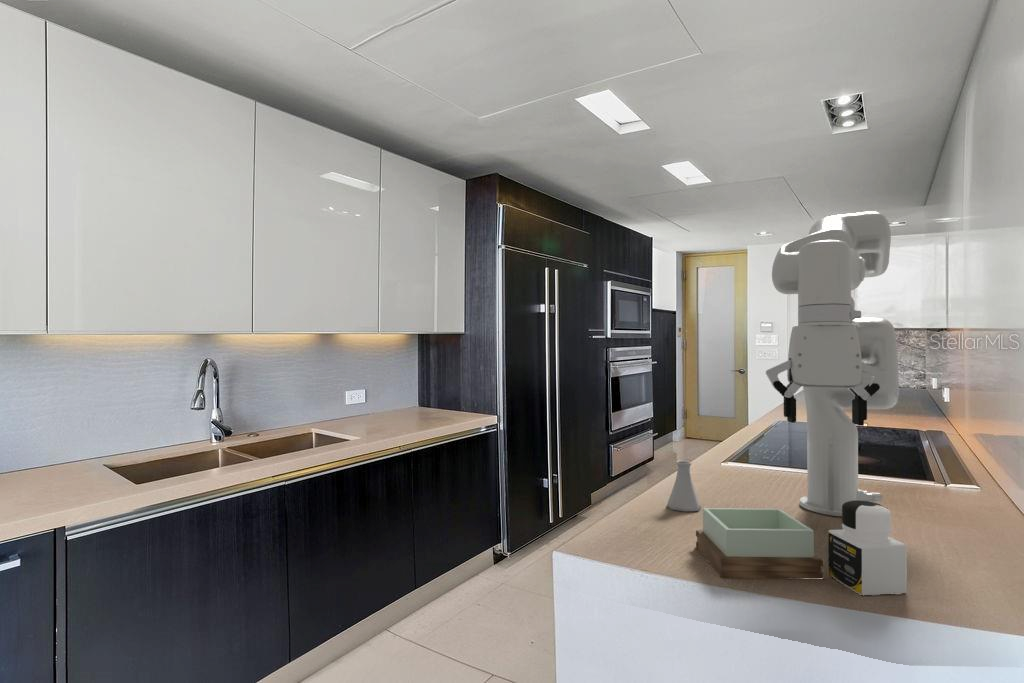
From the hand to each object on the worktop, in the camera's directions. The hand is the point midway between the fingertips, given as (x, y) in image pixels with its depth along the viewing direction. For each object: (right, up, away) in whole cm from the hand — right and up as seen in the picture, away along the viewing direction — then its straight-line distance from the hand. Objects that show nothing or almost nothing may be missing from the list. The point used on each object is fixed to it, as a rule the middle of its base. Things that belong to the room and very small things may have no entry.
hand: (824, 423), depth 88 cm
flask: (-13, -23, +31) cm, 41 cm away
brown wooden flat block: (-11, -23, +1) cm, 25 cm away
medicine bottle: (+2, -23, -8) cm, 24 cm away
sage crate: (-11, -20, +1) cm, 23 cm away
